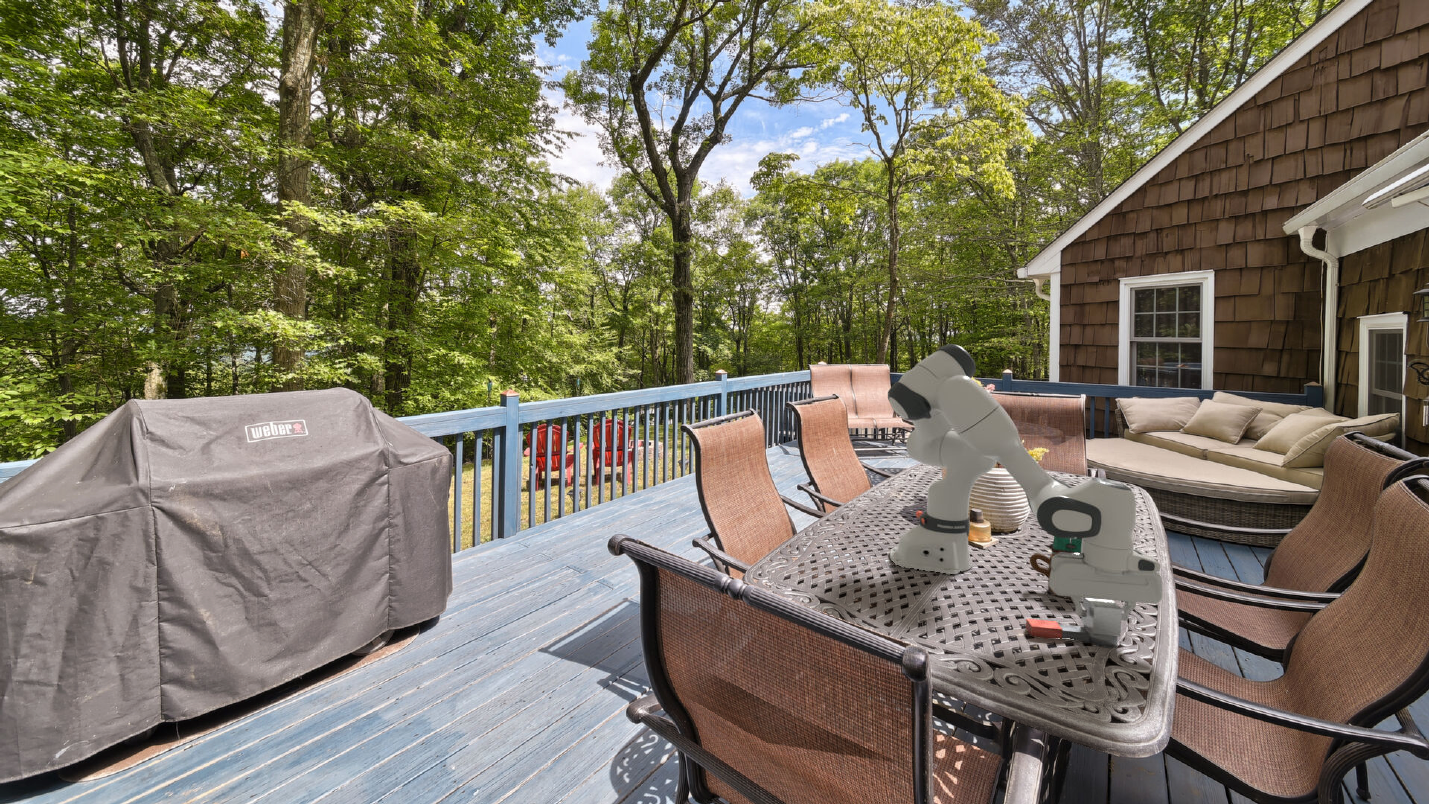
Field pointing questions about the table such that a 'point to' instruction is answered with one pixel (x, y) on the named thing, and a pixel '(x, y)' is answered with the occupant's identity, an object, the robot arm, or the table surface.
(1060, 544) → the binoculars
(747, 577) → the table surface
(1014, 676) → the table surface
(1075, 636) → the ratchet
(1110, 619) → the silver metal block
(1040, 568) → the mug
